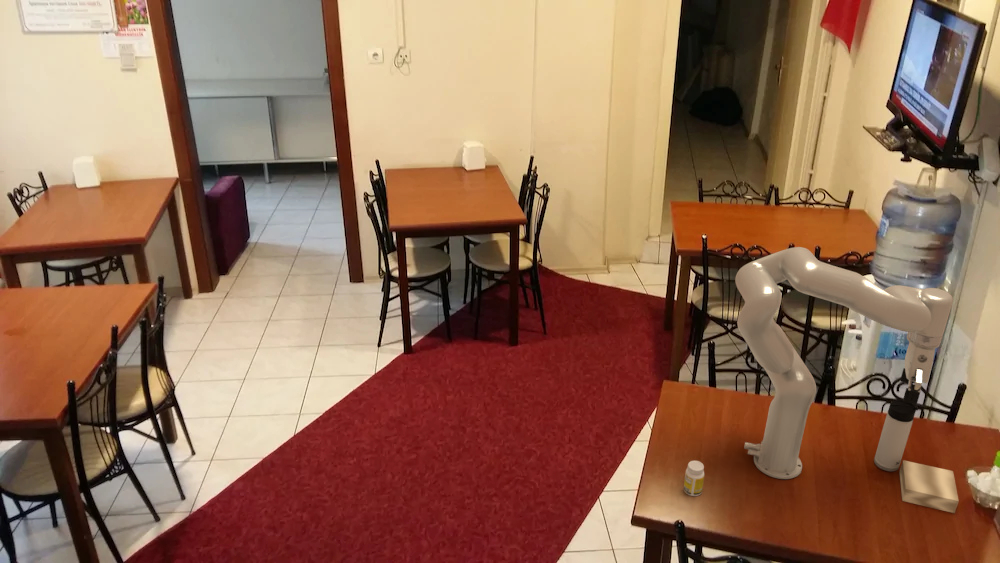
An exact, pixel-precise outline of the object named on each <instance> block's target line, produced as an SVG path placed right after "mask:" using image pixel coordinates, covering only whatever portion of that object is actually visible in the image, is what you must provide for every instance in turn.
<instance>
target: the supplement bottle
mask: <svg viewBox="0 0 1000 563" xmlns="http://www.w3.org/2000/svg"><path fill="white" fill-rule="evenodd" d="M704 468H705V466H704V464H703V463H702V462H701V461H700V460H690V461H689V462H688V464H687V467H686V469H685V475H684V482H683V483H684V484H683V491H684V493H685V492H686V494H687V495H688V496H692V497H698V496H700V495H701V494H702V493H703V487H704V481H705V470H704Z"/></svg>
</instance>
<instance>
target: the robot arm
mask: <svg viewBox="0 0 1000 563" xmlns="http://www.w3.org/2000/svg"><path fill="white" fill-rule="evenodd" d="M734 278H735V279H734V280H735V282H734V283H735V285H736V286H735V287H736V288H737V290H738V292H739V293H740V295H741V296H742V299H743V300H744V303H743V304H744V305H743V307H742V309H741V310H740V312H739V314H738V316H737V320H736V321H737V322H736V323H737V329H738V331H739V332H740V334H741V336H742V338H743V339H744V341H745V343H746V345H747V346H748V348H749V349H750V351H751V353H752V355H753V357H754V359H755V360H756V362H758V364H759V365H760V366H761V367H762V368H763V369H764V371H765V372H766V374H767V375H768V377H769V379H770V381H771V383H772V385H773V387H774V390H775V395H774V397H773V399H772V400H771V402H770V405H769V408H768V414H767V419H766V424H765V429H764V434H763V439H762V440H761V441H760V443H752V442H747V441H744V446H743V447H744V450H748V451H747V455H751V456H753V463H754V465H755V466H756V468H757V469H758V470H759V471H760V472H762V473H763V474H765V475H767V476H769V477H771V478H775V479H778V480H779V479H780V480H790V479H793V478H796V477H798V476H799V475H800V474H801V473H802V469H803V462H802V461H801V459H800V457H799V455H800V449H801V445H802V440H803V437H804V436H803V435H804V433H805V432H804V431H805V427H806V424H807V420H808V414H809V411H810V408H811V406H812V403H813V401H814V399H815V396H816V394H817V385H816V381H815V379H814V377H813V375H812V373H811V372H810V370H809V368H808V367H807V365H806V364H805V362H804V361H803V359H802V358H801V356H800V355H799V354H798V352H797V351H796V349H795V347H794V346H793V344H792V343H791V341H790V340H789V337H788V336H787V335H786V333H785V332H784V330H783V329H782V328H781V326H780V325H779V324H777V323H776V322H775V319H774V317H775V316H776V314H777V312H778V311H779V308H780V306H781V303H782V293H781V292H782V291H781V289H780V287H779V285H778V284H779V283H782V282H785V281H786V280H787V281H788V282H789V284H790V285H791V286H792V288H793V289H795V290H796V291H797V292H799V293H802V294H805V295H809V296H812V297H814V298H818V299H822V300H825V301H828V302H831V303H833V304H838V305H840V306H844V307H846V308H847V309H850V310H852V311H853V312H855V313H857V314H860V315H861V316H864V317H866V318H868V319H869V320H871V321H874V322H876V323H878V324H880V325H882V326H885V327H888V328H891V329H893V330H896V331H897V330H899V331H900V332H901V331H902V332H906V340H907V341H908V342H909V343H908V346H907V349H906V353H905V358H904V367H903V369H902V373H901V376H900V382H901V383H905V384H908V385H907V387H906V388H905V392H904V395H903V398H902V400H903V402H906V403H911V404H916V405H917V404H918V402H919V398H920V395H921V392H922V383H924V384H928V382H929V380H930V374H931V370H932V368H933V363H934V358H935V353H936V352H935V351H936V349H937V348H939V347H940V345H941V343H942V340H943V336H944V332H945V330H946V327H947V326H946V325H947V322H948V319H949V316H950V313H951V311H952V310H951V309H952V306H953V302H954V299H953V296H952V295H951V294H950V293H949V292H948V291H946V290H944V289H940V288H937V287H936V288H935V287H926V288H920V287H913V286H906V285H902V284H901V285H900V284H898V285H891V286H888V287H886V288H885V289H882V288H880V287H879V286H878V285H877V284H875V283H873V282H872V281H871V280H870V279H868V278H867V277H865V276H863V275H861V274H860V273H858V272H856V271H852V270H849V269H845V268H842V267H840V266H839V267H838V266H835V265H832V264H829V263H826V262H824V261H821V260H818V258H816V256H815V255H814V254H813V252H812V251H810V249H808V248H806V247H801V246H795V247H790V248H786V249H783V250H780V251H777V252H774V253H772V254H769V255H765V256H763V257H760V258H757V259H756V260H752V261H750V262H748V263H746V264H744V265H742V267H740V268H739V270H738V271H737V273H736V275H735V277H734Z"/></svg>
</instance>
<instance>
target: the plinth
mask: <svg viewBox="0 0 1000 563" xmlns="http://www.w3.org/2000/svg"><path fill="white" fill-rule="evenodd" d="M898 471H899V481H900V489H901V490H900V492H901V500H902V502H905V503H909V504H915V505H918V506H923V507H926V508H931V509H935V510H940V511H944V512H948V513H952V514H955V513H956V511H957V507H958V505H959V502H960V501H959V500H960V499H959V495H958V490H957V489H958V488H957V485H956V479H955V475H954V471H953V470H950V469H945V468H940V467H936V466H932V465H931V466H930V465H928V464H927V465H926V464H923V463H917V462H913V461H909V460H905V459H904V460H903V459H902V460H901V464H900V467H899V470H898Z"/></svg>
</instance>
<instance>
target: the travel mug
mask: <svg viewBox="0 0 1000 563" xmlns="http://www.w3.org/2000/svg"><path fill="white" fill-rule="evenodd" d="M918 410H919V408H918V406H917V404H911V403H906V402H903V399H897V400H893V401H892V402H890V404H889V406H888V410H887V413H886V417H885V419H884V424H883V426H882V430H881V434H880V438H879V441H878V445H877V449H876V450H875V451H876V452H875V455H874V458H873V462H874V464H875V466H876V467H878V468H879V469H880V470H883V471H886V472H896V471H899V470H898V469H900V467H901V463H902V460H903V454H904V451H905V448H906V446H907V442H908V439H909V437H910V436H909V435H910V432H911V428H912V426H913V423H914V417H915V414H916V411H918Z"/></svg>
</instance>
